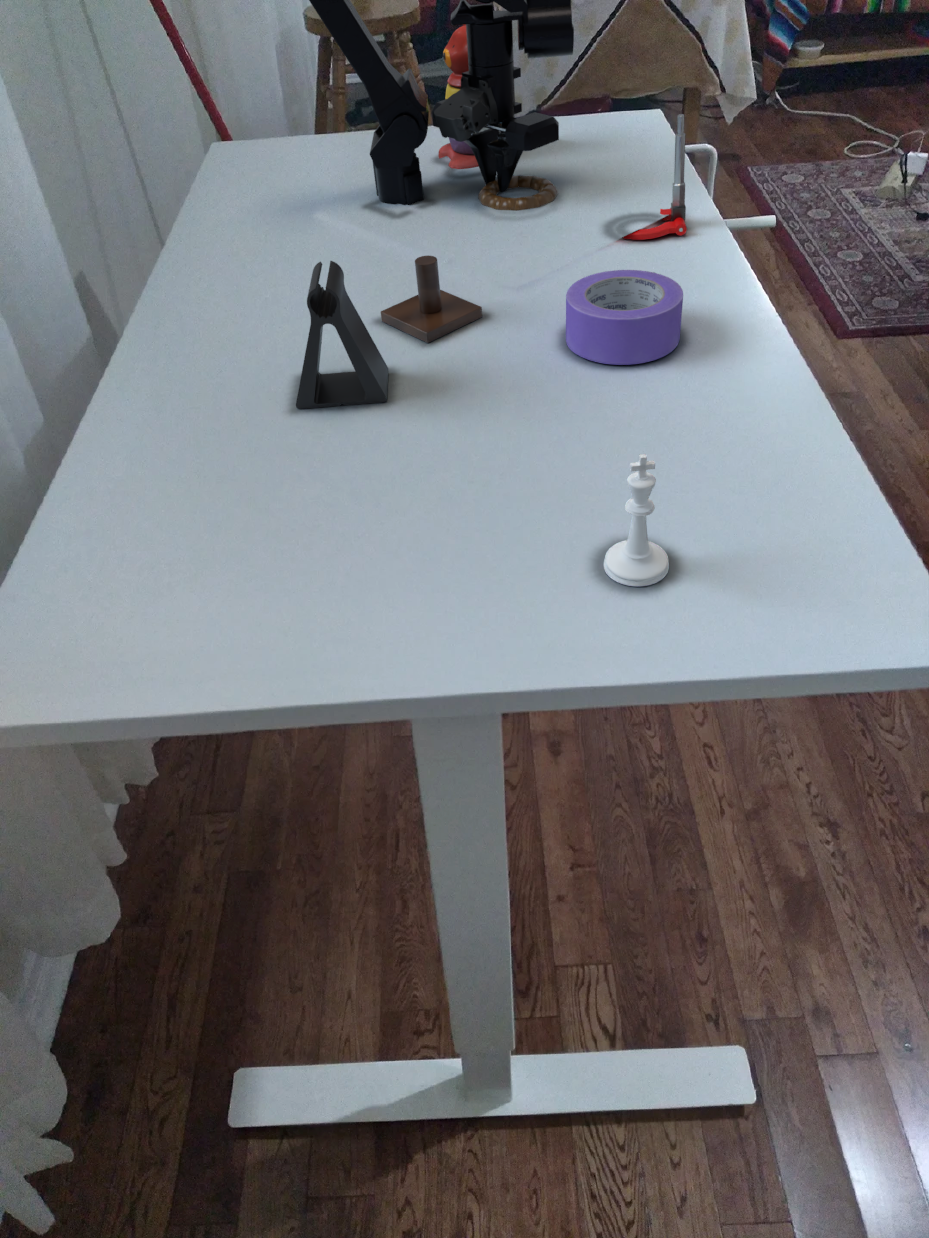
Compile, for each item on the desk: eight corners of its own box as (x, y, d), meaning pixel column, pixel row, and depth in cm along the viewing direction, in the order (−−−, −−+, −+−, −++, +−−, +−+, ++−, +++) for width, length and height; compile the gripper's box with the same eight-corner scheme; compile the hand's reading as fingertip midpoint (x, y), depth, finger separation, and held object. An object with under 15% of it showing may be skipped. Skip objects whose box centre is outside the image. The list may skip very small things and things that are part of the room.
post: (381, 321, 108) (373, 262, 103) (435, 296, 111) (430, 238, 107) (427, 343, 103) (421, 283, 98) (482, 317, 107) (479, 257, 102)
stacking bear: (435, 156, 147) (424, 21, 135) (499, 146, 148) (494, 12, 136) (452, 178, 139) (441, 38, 127) (519, 168, 141) (515, 28, 129)
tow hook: (611, 246, 119) (688, 239, 118) (609, 134, 110) (692, 125, 109) (607, 220, 125) (680, 213, 124) (605, 112, 117) (683, 103, 115)
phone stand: (389, 372, 99) (373, 257, 91) (387, 402, 95) (370, 284, 87) (302, 378, 99) (278, 264, 91) (296, 409, 95) (270, 292, 87)
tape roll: (581, 308, 106) (582, 264, 103) (688, 318, 103) (693, 272, 100) (552, 360, 98) (552, 313, 95) (667, 372, 95) (671, 324, 92)
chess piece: (598, 549, 76) (601, 440, 69) (660, 542, 76) (669, 433, 69) (610, 590, 72) (615, 479, 65) (675, 583, 72) (687, 472, 66)
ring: (463, 206, 131) (462, 190, 130) (518, 184, 136) (518, 168, 134) (517, 224, 125) (516, 207, 124) (572, 200, 130) (573, 183, 128)
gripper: (394, 66, 123) (408, 192, 134) (495, 89, 113) (501, 224, 123) (459, 46, 128) (467, 169, 139) (561, 66, 118) (561, 198, 128)
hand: (496, 189), depth 132 cm, fingers closed on ring, 2 cm apart
